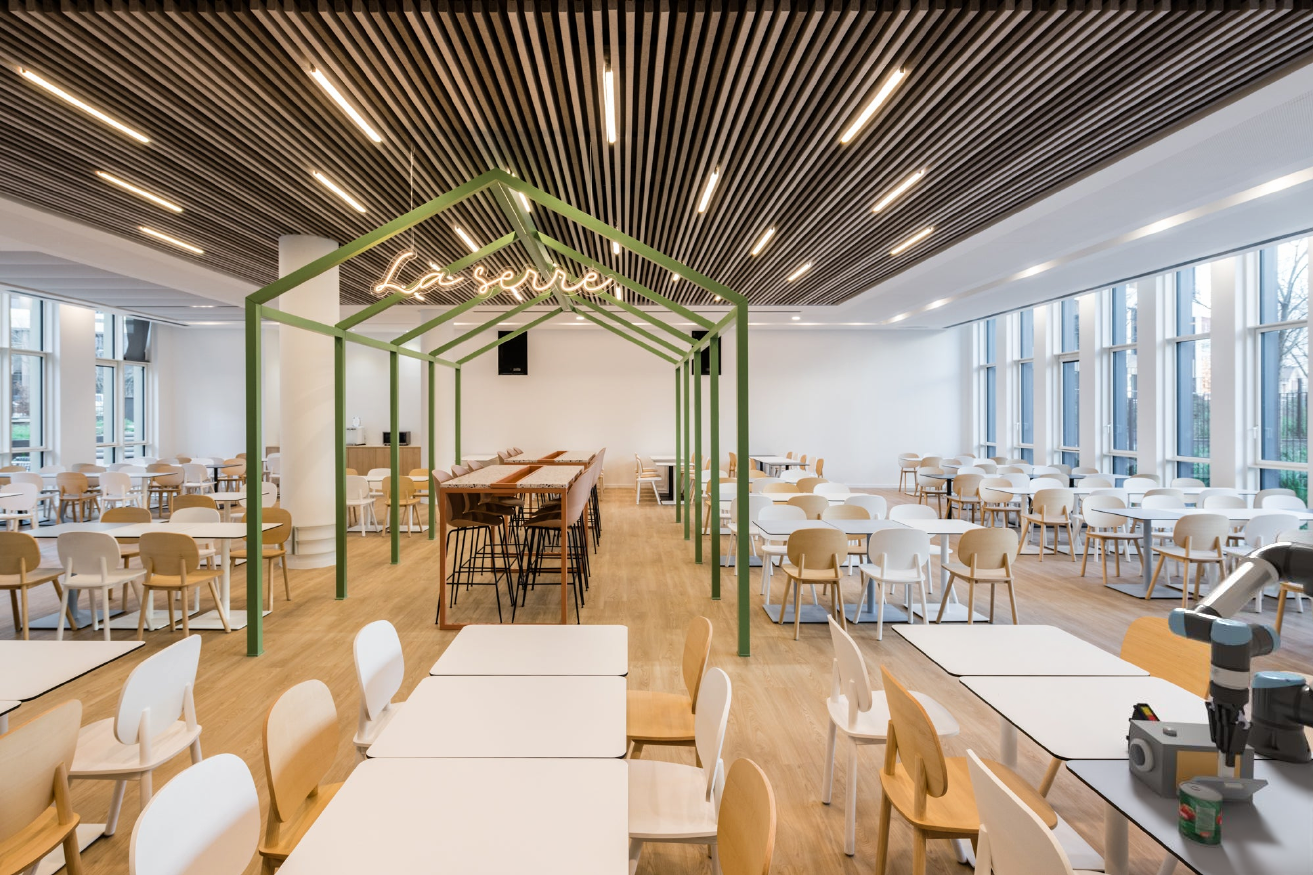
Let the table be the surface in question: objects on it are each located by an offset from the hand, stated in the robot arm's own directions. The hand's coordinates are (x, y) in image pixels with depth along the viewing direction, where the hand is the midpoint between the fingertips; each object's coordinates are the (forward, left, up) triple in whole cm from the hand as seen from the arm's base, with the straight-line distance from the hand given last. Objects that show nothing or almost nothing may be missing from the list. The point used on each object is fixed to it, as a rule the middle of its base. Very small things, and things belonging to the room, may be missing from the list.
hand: (1225, 777), depth 166 cm
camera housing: (+1, -13, -9) cm, 16 cm away
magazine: (+2, -27, -10) cm, 29 cm away
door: (0, -6, -7) cm, 9 cm away
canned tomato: (+13, +11, -10) cm, 19 cm away
